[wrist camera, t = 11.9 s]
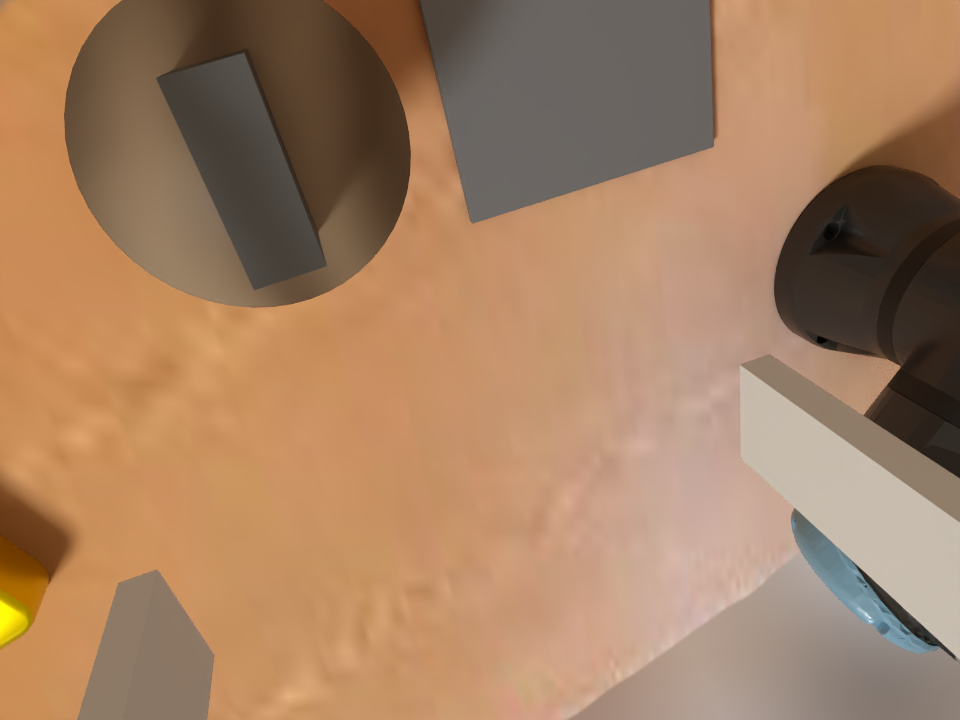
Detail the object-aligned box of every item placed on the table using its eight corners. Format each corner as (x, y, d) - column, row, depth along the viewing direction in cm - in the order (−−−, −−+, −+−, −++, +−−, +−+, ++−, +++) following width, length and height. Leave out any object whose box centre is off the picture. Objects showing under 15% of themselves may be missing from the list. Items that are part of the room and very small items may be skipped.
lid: (349, -69, 26) (370, -92, 21) (438, 246, 33) (472, 287, 28) (-5, 24, 24) (-79, 23, 19) (171, 337, 31) (152, 399, 26)
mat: (698, -176, 36) (704, -179, 36) (708, 145, 45) (713, 146, 45) (393, -105, 33) (395, -107, 33) (470, 221, 43) (472, 223, 42)
